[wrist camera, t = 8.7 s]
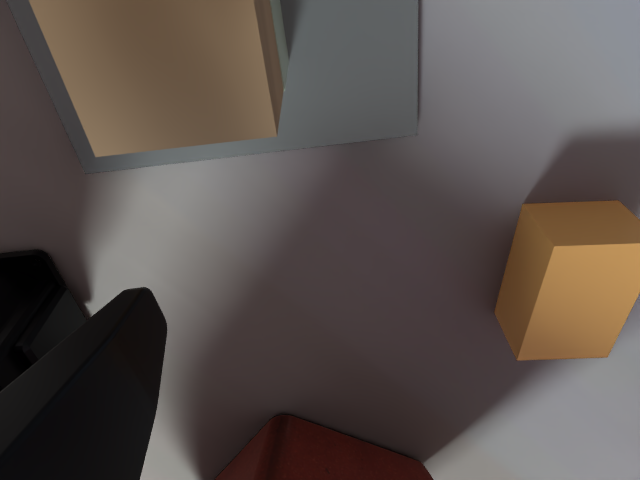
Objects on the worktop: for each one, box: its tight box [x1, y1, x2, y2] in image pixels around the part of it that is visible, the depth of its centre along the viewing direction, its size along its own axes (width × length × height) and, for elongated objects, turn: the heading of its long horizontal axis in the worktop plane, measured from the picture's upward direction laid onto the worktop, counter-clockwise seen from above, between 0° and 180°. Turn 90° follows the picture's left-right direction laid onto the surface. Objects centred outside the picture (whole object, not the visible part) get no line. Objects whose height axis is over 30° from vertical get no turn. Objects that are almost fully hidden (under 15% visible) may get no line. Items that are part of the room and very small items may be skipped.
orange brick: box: [494, 200, 640, 361], centre depth 22 cm, size 4×7×4 cm, turn 1°
